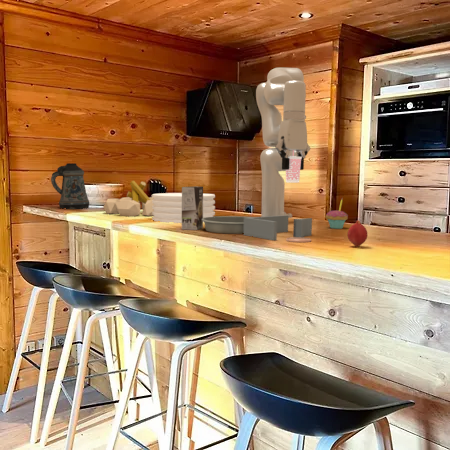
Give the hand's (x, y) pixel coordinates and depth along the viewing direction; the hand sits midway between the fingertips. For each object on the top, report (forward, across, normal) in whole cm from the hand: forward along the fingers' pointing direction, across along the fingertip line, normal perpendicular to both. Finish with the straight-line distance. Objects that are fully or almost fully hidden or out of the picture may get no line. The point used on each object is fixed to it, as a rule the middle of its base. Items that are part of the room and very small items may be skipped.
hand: (292, 169), depth 181 cm
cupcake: (+23, -28, -5) cm, 37 cm away
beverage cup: (+5, 0, 0) cm, 5 cm away
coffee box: (+23, +22, -32) cm, 45 cm away
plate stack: (+23, +6, -64) cm, 68 cm away
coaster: (+23, +10, +14) cm, 29 cm away
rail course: (+23, +6, +1) cm, 24 cm away
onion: (+23, +4, +33) cm, 40 cm away
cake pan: (+23, +10, -20) cm, 33 cm away
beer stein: (+23, +28, -149) cm, 153 cm away
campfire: (+24, +9, -101) cm, 104 cm away
